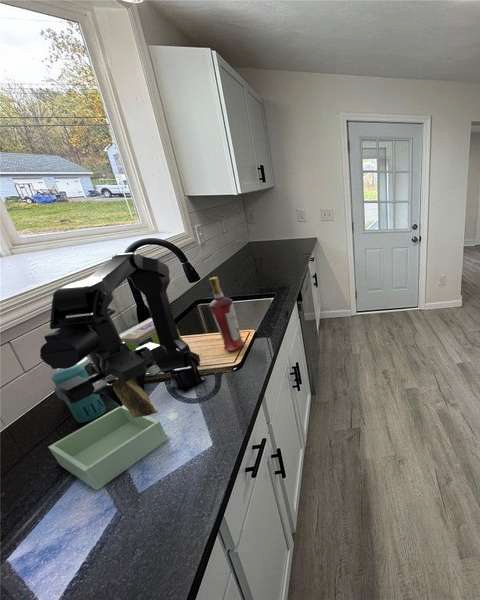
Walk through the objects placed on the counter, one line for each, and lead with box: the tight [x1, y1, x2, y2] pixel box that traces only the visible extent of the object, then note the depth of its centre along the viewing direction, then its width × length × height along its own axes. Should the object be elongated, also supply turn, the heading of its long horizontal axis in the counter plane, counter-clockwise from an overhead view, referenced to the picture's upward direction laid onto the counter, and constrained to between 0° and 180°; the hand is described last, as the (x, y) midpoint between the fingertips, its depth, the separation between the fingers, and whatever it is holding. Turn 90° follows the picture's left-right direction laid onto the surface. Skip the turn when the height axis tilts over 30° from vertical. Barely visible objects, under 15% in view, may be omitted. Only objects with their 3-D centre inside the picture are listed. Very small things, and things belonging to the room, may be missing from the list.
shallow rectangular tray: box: [47, 405, 169, 491], centre depth 74 cm, size 15×17×6 cm
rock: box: [110, 379, 159, 418], centre depth 74 cm, size 11×9×10 cm
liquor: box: [208, 276, 245, 352], centre depth 113 cm, size 7×7×28 cm
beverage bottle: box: [50, 364, 107, 423], centre depth 83 cm, size 6×7×20 cm
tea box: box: [118, 317, 183, 377], centre depth 109 cm, size 15×10×15 cm
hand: (131, 399), depth 73 cm, fingers closed on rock, 4 cm apart
